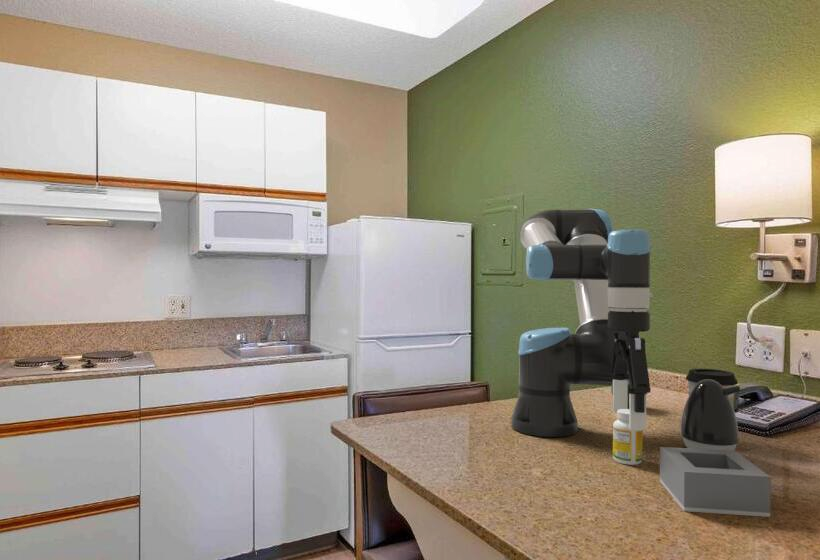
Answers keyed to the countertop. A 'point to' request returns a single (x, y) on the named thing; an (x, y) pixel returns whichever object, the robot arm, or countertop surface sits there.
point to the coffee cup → (712, 378)
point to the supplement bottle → (626, 440)
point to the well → (715, 481)
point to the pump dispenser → (710, 417)
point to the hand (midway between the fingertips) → (628, 420)
